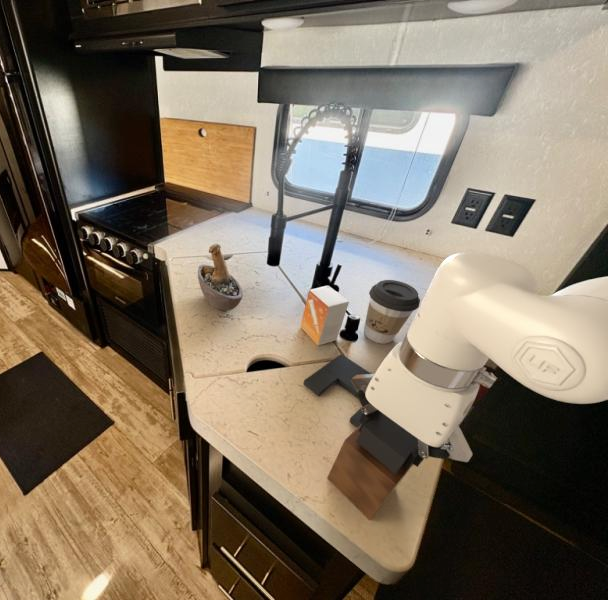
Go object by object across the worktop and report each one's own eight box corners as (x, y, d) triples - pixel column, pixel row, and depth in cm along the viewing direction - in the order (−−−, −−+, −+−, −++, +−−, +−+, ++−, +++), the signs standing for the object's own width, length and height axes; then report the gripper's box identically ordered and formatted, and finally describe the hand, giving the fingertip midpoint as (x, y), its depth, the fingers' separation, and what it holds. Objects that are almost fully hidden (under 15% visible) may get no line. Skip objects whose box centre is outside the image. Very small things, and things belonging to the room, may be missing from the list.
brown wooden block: (395, 488, 53) (423, 450, 46) (369, 520, 49) (396, 484, 42) (353, 451, 58) (373, 413, 51) (327, 477, 54) (344, 440, 47)
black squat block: (415, 449, 46) (426, 434, 44) (395, 474, 43) (405, 459, 41) (377, 420, 50) (385, 405, 48) (355, 441, 47) (363, 426, 45)
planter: (201, 286, 105) (200, 230, 93) (249, 295, 101) (255, 238, 89) (184, 311, 94) (181, 251, 82) (238, 322, 89) (243, 261, 78)
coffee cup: (349, 335, 85) (365, 290, 76) (364, 316, 92) (380, 272, 83) (393, 356, 78) (416, 308, 70) (406, 334, 85) (428, 288, 77)
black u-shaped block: (403, 401, 67) (406, 396, 67) (368, 436, 61) (370, 432, 60) (339, 358, 78) (341, 353, 77) (303, 384, 71) (304, 379, 70)
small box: (299, 327, 87) (308, 289, 80) (318, 322, 89) (328, 284, 82) (317, 346, 81) (328, 306, 74) (337, 340, 83) (350, 301, 76)
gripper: (543, 391, 32) (462, 477, 42) (382, 310, 43) (349, 393, 54) (520, 430, 28) (437, 514, 39) (351, 331, 40) (322, 416, 50)
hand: (386, 443), depth 46 cm, fingers closed on black squat block, 6 cm apart
